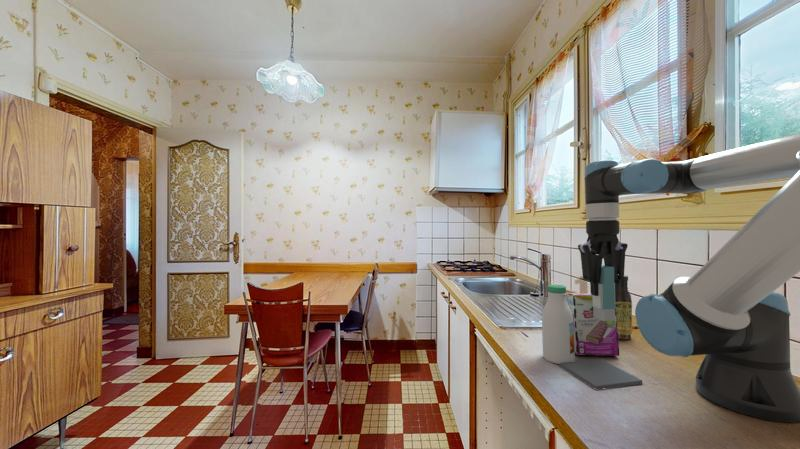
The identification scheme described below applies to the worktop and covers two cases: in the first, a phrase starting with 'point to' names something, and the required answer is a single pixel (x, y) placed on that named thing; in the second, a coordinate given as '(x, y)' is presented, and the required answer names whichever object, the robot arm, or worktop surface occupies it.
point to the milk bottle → (557, 327)
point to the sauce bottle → (623, 310)
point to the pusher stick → (606, 295)
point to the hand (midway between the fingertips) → (603, 306)
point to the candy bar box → (591, 328)
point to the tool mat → (600, 374)
